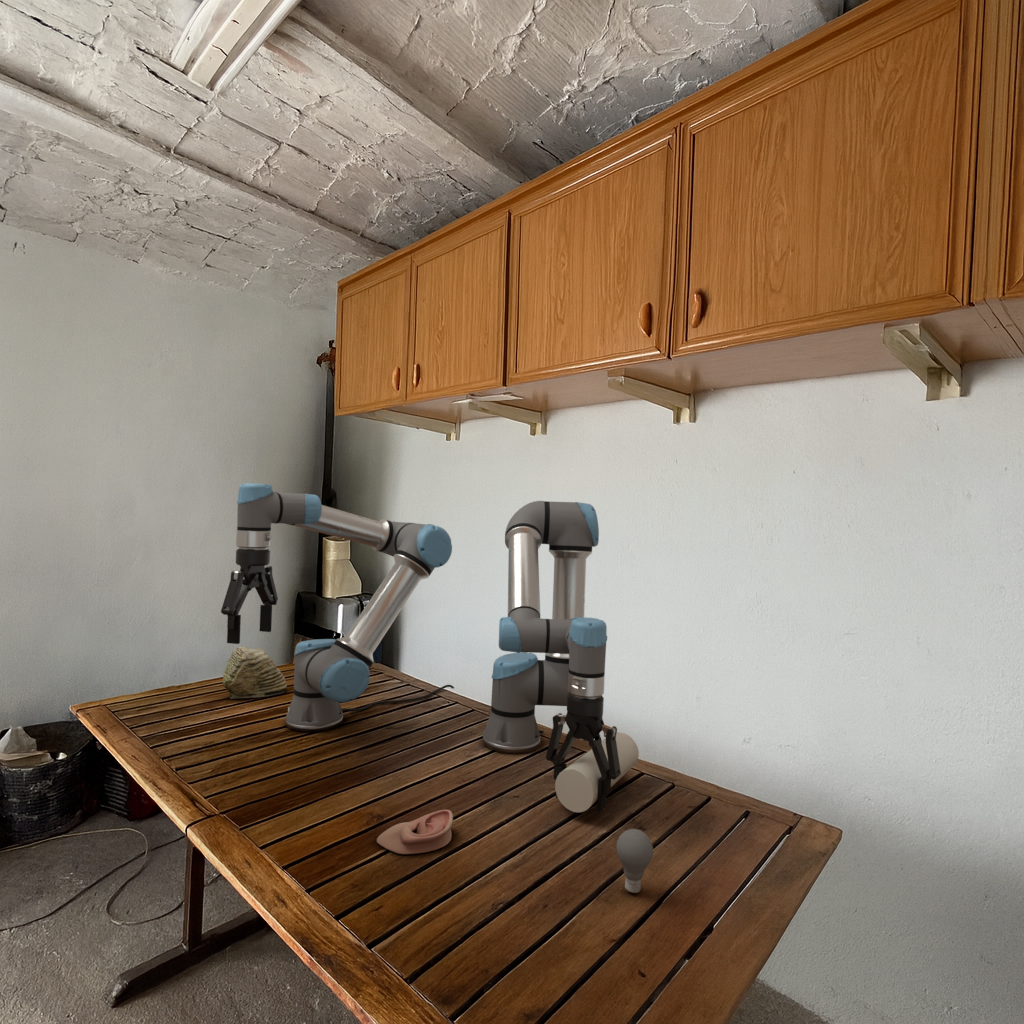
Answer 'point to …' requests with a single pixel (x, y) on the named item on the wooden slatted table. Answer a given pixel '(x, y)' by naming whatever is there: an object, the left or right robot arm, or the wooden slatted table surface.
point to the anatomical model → (419, 834)
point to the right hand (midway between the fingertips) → (580, 802)
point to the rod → (592, 775)
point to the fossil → (252, 674)
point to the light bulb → (634, 857)
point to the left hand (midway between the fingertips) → (250, 637)
